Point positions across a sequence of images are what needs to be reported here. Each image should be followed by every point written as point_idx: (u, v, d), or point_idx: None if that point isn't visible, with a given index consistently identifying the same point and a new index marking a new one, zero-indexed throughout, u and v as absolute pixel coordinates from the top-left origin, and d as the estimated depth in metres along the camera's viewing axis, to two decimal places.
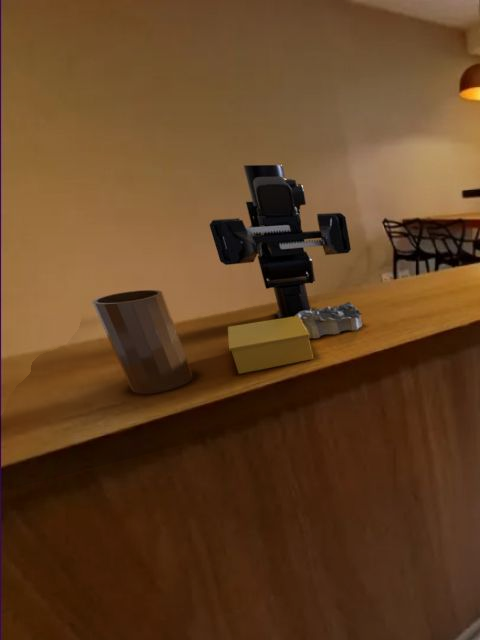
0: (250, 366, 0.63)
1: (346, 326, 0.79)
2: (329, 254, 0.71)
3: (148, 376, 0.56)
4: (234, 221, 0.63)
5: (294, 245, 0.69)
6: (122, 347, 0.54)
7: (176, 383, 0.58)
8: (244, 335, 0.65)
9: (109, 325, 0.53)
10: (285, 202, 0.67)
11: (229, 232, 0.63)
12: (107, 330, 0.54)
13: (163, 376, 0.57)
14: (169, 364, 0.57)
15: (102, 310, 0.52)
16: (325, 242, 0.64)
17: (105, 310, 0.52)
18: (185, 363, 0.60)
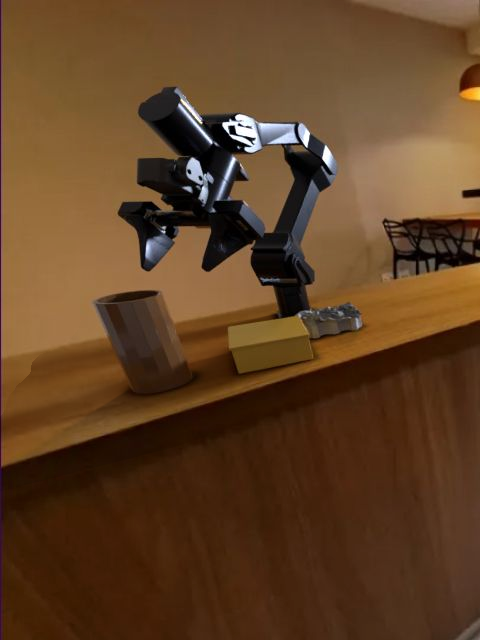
0: (250, 366, 0.63)
1: (346, 326, 0.79)
2: None
3: (148, 376, 0.56)
4: (134, 216, 0.61)
5: (207, 226, 0.65)
6: (122, 347, 0.54)
7: (176, 383, 0.58)
8: (244, 335, 0.65)
9: (109, 325, 0.53)
10: (177, 189, 0.59)
11: None
12: (107, 330, 0.54)
13: (163, 376, 0.57)
14: (169, 364, 0.57)
15: (102, 310, 0.52)
16: (205, 270, 0.60)
17: (105, 310, 0.52)
18: (185, 363, 0.60)
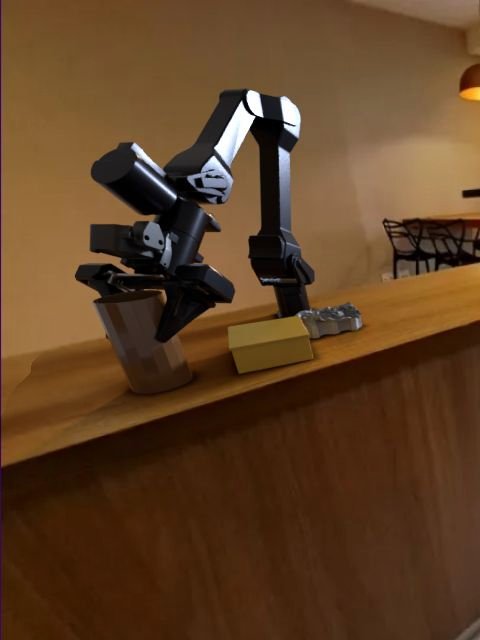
0: (250, 366, 0.63)
1: (346, 326, 0.79)
2: None
3: (148, 376, 0.56)
4: (98, 282, 0.56)
5: None
6: (121, 347, 0.54)
7: (176, 383, 0.58)
8: (244, 335, 0.65)
9: (109, 325, 0.53)
10: (135, 254, 0.54)
11: None
12: (107, 330, 0.54)
13: (163, 376, 0.57)
14: (169, 364, 0.57)
15: (102, 310, 0.52)
16: None
17: (105, 310, 0.52)
18: (185, 363, 0.60)
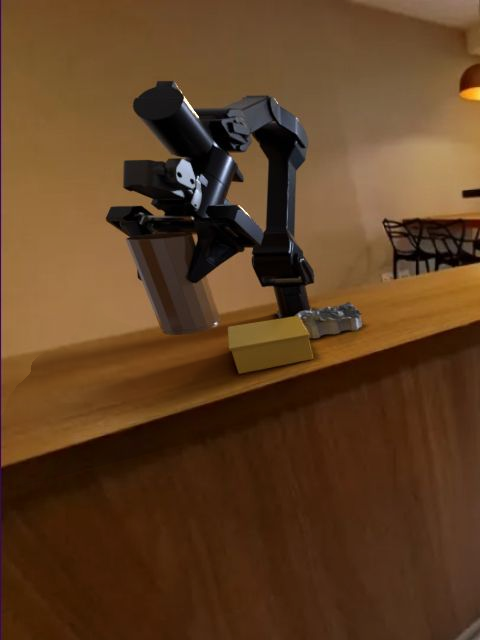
0: (250, 366, 0.63)
1: (346, 326, 0.79)
2: None
3: (179, 316, 0.57)
4: (129, 223, 0.56)
5: None
6: (154, 285, 0.55)
7: (206, 325, 0.59)
8: (244, 335, 0.65)
9: (142, 262, 0.53)
10: (167, 193, 0.55)
11: None
12: (140, 268, 0.54)
13: (194, 318, 0.57)
14: (200, 305, 0.58)
15: (135, 246, 0.53)
16: (192, 282, 0.56)
17: (138, 246, 0.53)
18: (214, 307, 0.60)
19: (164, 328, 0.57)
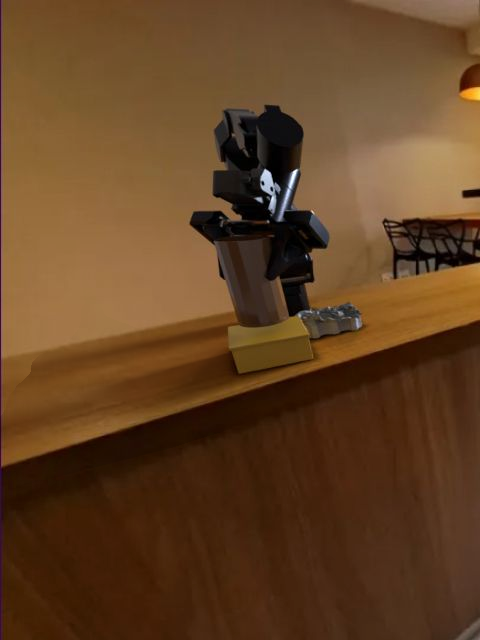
0: (250, 366, 0.63)
1: (346, 326, 0.79)
2: None
3: (257, 311, 0.62)
4: (212, 226, 0.62)
5: (273, 235, 0.66)
6: (237, 282, 0.60)
7: (279, 319, 0.65)
8: (244, 335, 0.65)
9: (228, 262, 0.59)
10: (249, 199, 0.61)
11: None
12: (225, 267, 0.60)
13: (269, 312, 0.63)
14: (274, 301, 0.64)
15: (223, 248, 0.59)
16: (269, 279, 0.62)
17: (226, 247, 0.58)
18: (285, 302, 0.66)
19: (242, 321, 0.63)
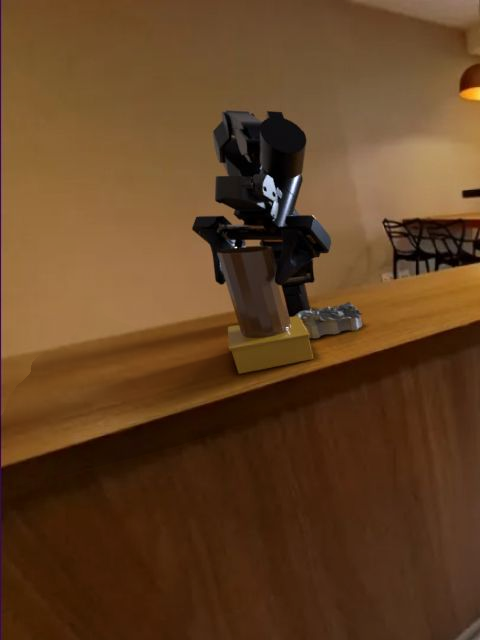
0: (250, 366, 0.63)
1: (346, 326, 0.79)
2: None
3: (260, 321, 0.63)
4: (208, 231, 0.63)
5: (275, 239, 0.67)
6: (240, 293, 0.61)
7: (281, 329, 0.65)
8: None
9: (232, 273, 0.60)
10: (251, 205, 0.61)
11: None
12: (229, 278, 0.61)
13: (272, 322, 0.64)
14: (277, 311, 0.64)
15: (227, 259, 0.59)
16: (278, 284, 0.62)
17: (230, 259, 0.59)
18: (287, 312, 0.67)
19: (245, 332, 0.64)
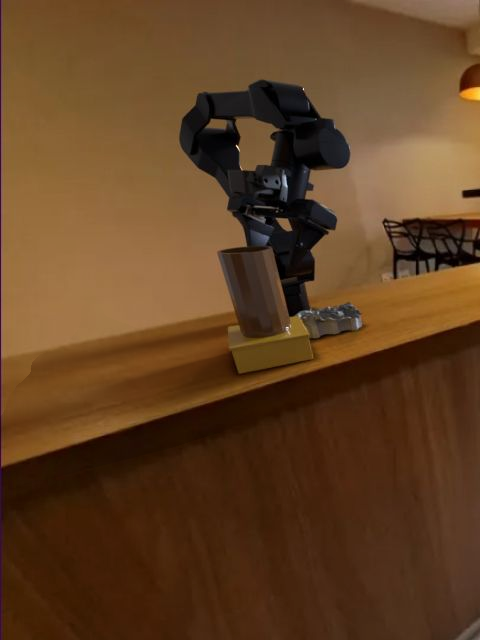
0: (250, 366, 0.63)
1: (346, 326, 0.79)
2: None
3: (260, 321, 0.63)
4: (238, 214, 0.71)
5: None
6: (240, 293, 0.61)
7: (281, 329, 0.65)
8: None
9: (232, 273, 0.60)
10: None
11: None
12: (229, 278, 0.61)
13: (272, 322, 0.64)
14: (277, 311, 0.64)
15: (227, 259, 0.59)
16: (292, 266, 0.70)
17: (230, 259, 0.59)
18: (287, 312, 0.67)
19: (245, 332, 0.64)
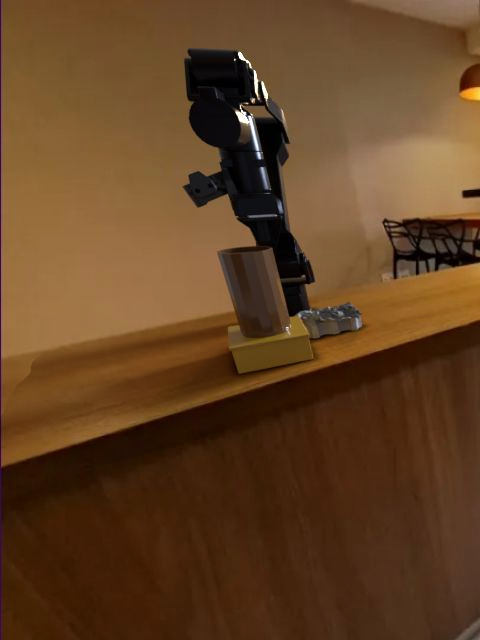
0: (250, 366, 0.63)
1: (346, 326, 0.79)
2: None
3: (260, 321, 0.63)
4: None
5: None
6: (240, 293, 0.61)
7: (281, 329, 0.65)
8: None
9: (232, 273, 0.60)
10: None
11: None
12: (229, 278, 0.61)
13: (272, 322, 0.64)
14: (277, 311, 0.64)
15: (227, 259, 0.59)
16: None
17: (230, 259, 0.59)
18: (287, 312, 0.67)
19: (245, 332, 0.64)
